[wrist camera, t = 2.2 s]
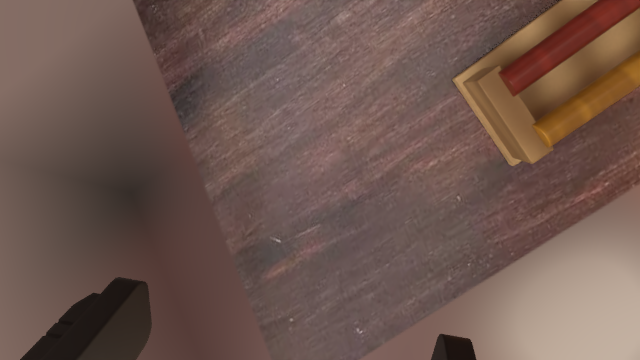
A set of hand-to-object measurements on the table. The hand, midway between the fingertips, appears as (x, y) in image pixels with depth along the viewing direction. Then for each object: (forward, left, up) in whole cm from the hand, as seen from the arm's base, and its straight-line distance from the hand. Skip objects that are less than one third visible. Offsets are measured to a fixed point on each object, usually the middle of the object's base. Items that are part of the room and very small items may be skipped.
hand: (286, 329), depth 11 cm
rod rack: (-14, +16, -23) cm, 32 cm away
